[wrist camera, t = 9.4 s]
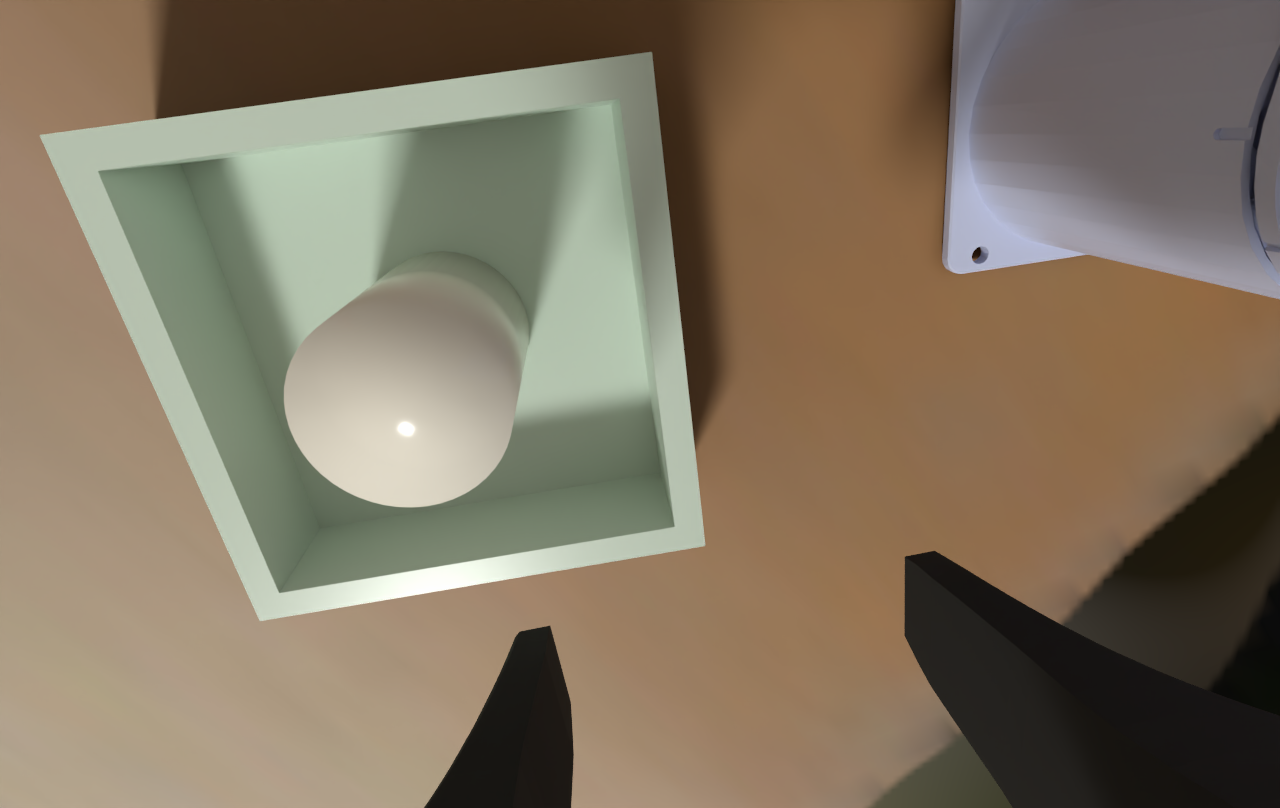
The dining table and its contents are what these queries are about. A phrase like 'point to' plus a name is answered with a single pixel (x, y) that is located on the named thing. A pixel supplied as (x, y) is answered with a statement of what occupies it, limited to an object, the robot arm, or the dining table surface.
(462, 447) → the white capsule cylinder
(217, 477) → the bin
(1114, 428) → the dining table surface
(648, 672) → the dining table surface
